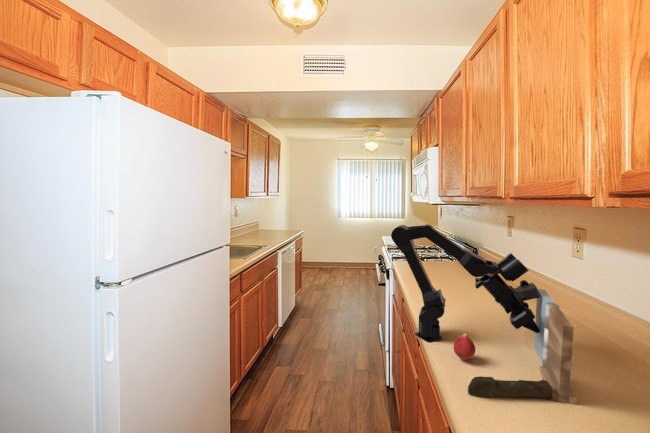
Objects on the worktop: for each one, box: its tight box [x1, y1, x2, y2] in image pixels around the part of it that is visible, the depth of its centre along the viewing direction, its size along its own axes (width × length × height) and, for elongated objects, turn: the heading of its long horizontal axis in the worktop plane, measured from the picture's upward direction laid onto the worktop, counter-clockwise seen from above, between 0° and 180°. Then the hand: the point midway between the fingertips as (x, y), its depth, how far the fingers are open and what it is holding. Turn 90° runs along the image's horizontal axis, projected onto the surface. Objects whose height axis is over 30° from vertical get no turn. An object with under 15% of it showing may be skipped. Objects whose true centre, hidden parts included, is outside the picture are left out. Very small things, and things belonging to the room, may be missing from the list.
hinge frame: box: [539, 303, 578, 406], centre depth 84 cm, size 5×16×18 cm, turn 157°
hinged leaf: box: [533, 288, 556, 363], centre depth 97 cm, size 3×16×18 cm, turn 157°
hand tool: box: [467, 376, 553, 401], centre depth 80 cm, size 19×4×5 cm, turn 85°
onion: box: [453, 333, 476, 361], centre depth 96 cm, size 6×6×8 cm
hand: (538, 330), depth 100 cm, fingers closed on hinged leaf, 2 cm apart
